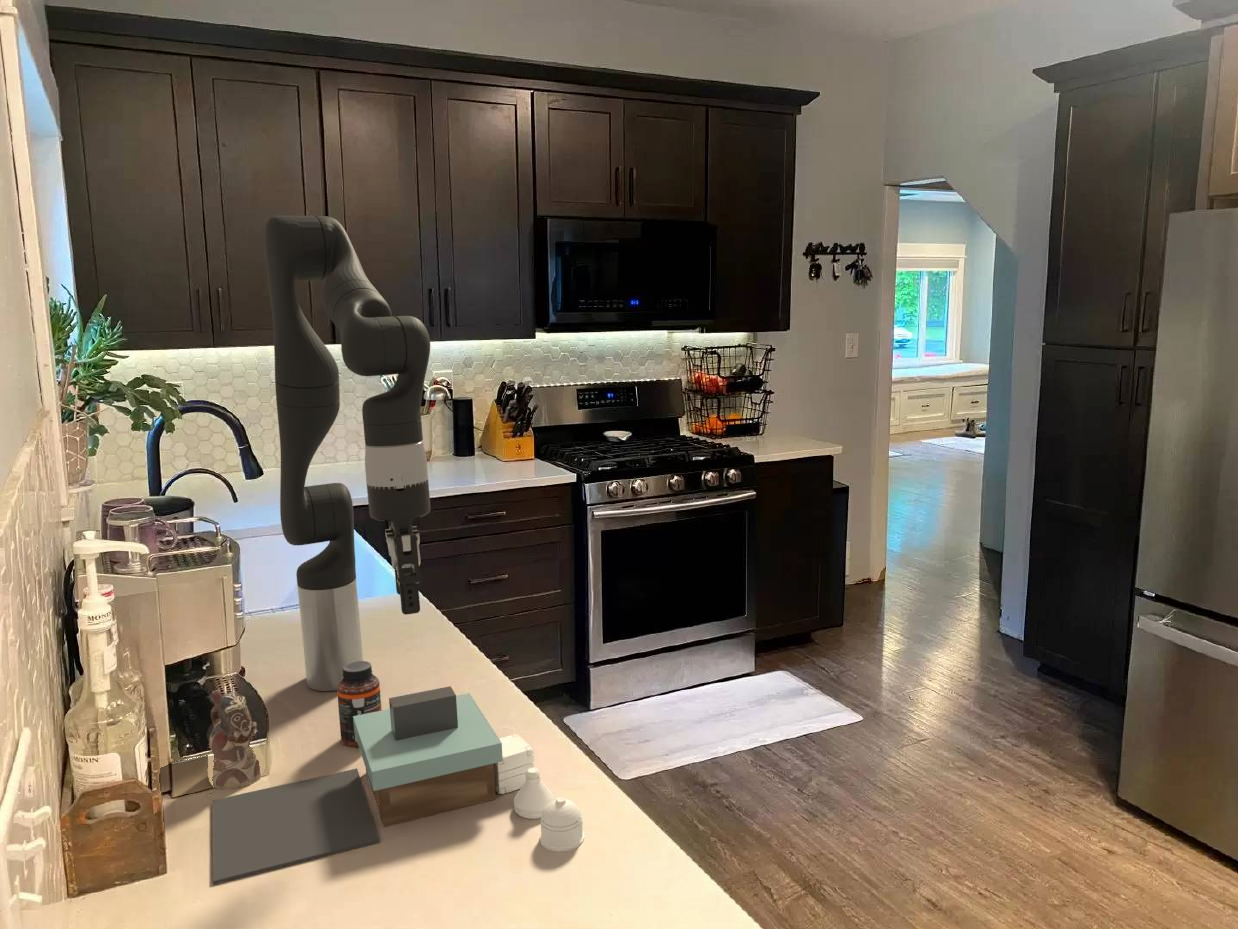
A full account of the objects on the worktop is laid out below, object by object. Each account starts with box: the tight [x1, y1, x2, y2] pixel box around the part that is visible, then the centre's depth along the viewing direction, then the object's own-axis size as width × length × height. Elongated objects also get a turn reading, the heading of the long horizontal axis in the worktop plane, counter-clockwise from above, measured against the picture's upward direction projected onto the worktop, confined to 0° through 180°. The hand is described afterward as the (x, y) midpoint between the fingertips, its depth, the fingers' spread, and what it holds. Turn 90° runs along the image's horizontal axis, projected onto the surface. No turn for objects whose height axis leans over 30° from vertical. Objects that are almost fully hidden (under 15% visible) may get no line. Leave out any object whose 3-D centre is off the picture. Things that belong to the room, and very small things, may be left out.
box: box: [365, 763, 496, 828], centre depth 121 cm, size 14×14×7 cm
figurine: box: [208, 689, 262, 791], centre depth 124 cm, size 7×7×12 cm
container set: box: [494, 734, 585, 853], centre depth 115 cm, size 20×5×6 cm, turn 31°
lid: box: [353, 685, 503, 791], centre depth 120 cm, size 16×16×7 cm
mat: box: [212, 768, 380, 885], centre depth 114 cm, size 18×18×1 cm
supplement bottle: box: [336, 660, 382, 748], centre depth 133 cm, size 6×6×11 cm
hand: (408, 603), depth 118 cm, fingers open, 8 cm apart
